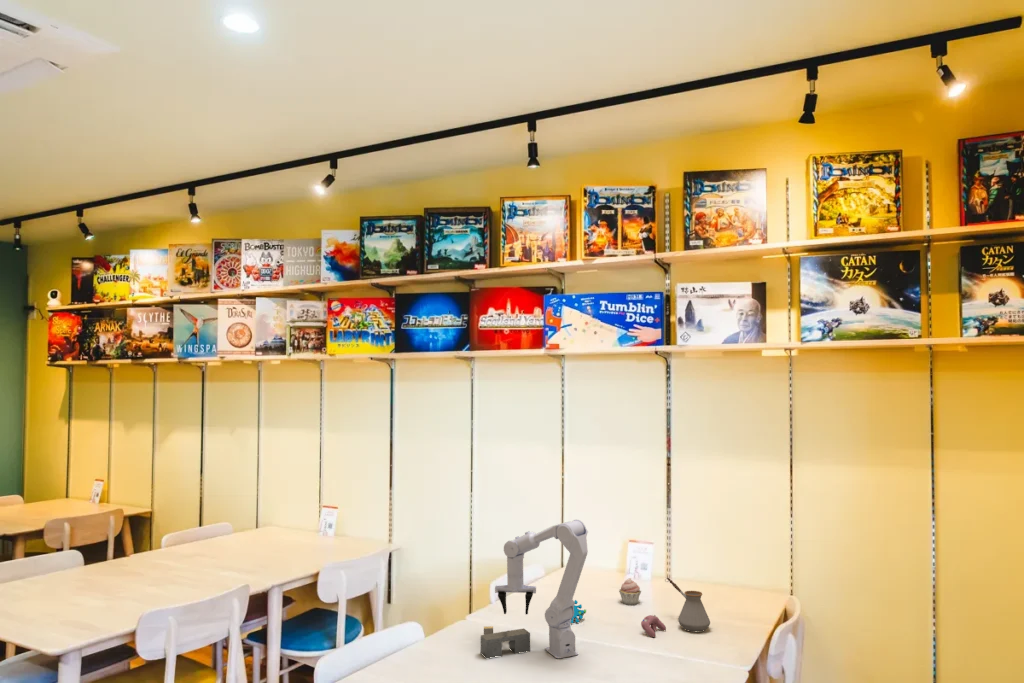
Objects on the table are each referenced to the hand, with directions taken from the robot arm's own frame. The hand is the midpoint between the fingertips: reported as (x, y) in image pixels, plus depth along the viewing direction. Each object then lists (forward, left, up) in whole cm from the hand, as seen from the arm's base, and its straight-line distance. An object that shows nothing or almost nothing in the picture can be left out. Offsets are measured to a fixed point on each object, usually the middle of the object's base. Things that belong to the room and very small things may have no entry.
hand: (515, 613), depth 241 cm
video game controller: (-14, -48, -10) cm, 51 cm away
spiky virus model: (+10, -28, -10) cm, 31 cm away
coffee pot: (-12, -64, -10) cm, 66 cm away
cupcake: (+19, -60, -10) cm, 64 cm away
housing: (-9, +8, -9) cm, 15 cm away
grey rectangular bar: (+4, +9, -9) cm, 13 cm away
